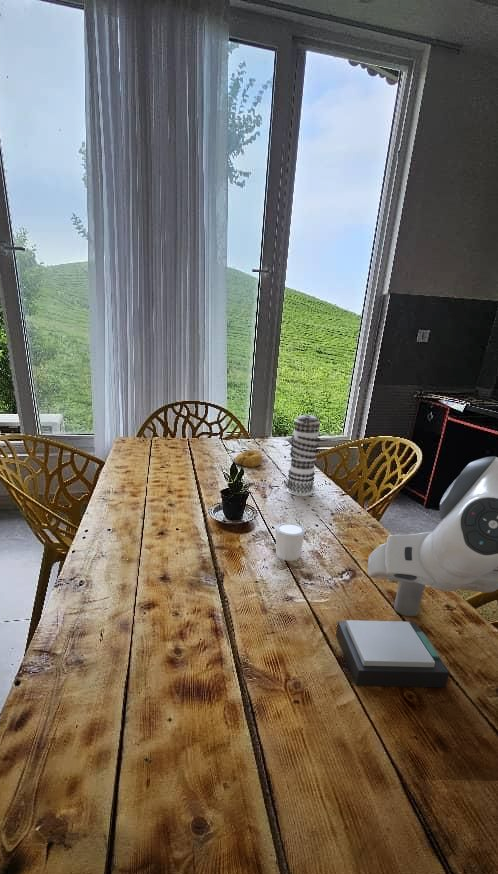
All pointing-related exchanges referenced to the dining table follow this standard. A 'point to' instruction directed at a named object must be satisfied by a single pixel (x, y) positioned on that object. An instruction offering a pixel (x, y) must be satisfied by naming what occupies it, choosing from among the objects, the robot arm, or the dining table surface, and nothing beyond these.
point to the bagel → (249, 458)
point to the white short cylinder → (289, 541)
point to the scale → (390, 654)
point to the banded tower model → (303, 455)
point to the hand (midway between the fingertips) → (418, 581)
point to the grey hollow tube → (408, 598)
